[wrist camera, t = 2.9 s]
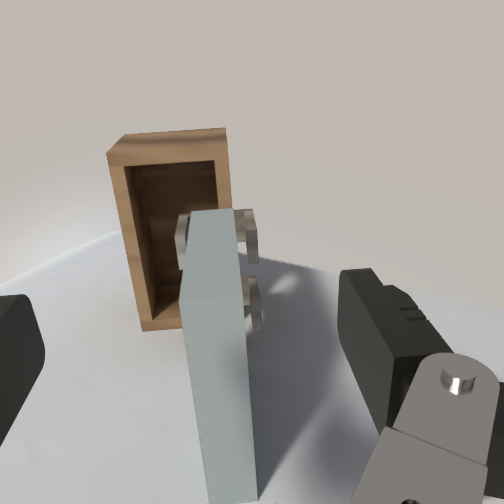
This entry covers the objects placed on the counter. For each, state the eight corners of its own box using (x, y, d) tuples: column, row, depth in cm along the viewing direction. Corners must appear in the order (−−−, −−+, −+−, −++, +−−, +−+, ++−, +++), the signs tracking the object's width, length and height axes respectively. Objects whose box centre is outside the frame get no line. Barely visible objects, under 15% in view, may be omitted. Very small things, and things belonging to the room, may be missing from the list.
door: (211, 373, 37) (191, 211, 31) (245, 369, 38) (233, 208, 31) (209, 506, 27) (178, 301, 20) (257, 501, 27) (242, 296, 20)
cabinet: (152, 290, 51) (124, 134, 43) (252, 281, 51) (243, 126, 43) (134, 361, 39) (92, 167, 31) (263, 349, 40) (253, 155, 32)
